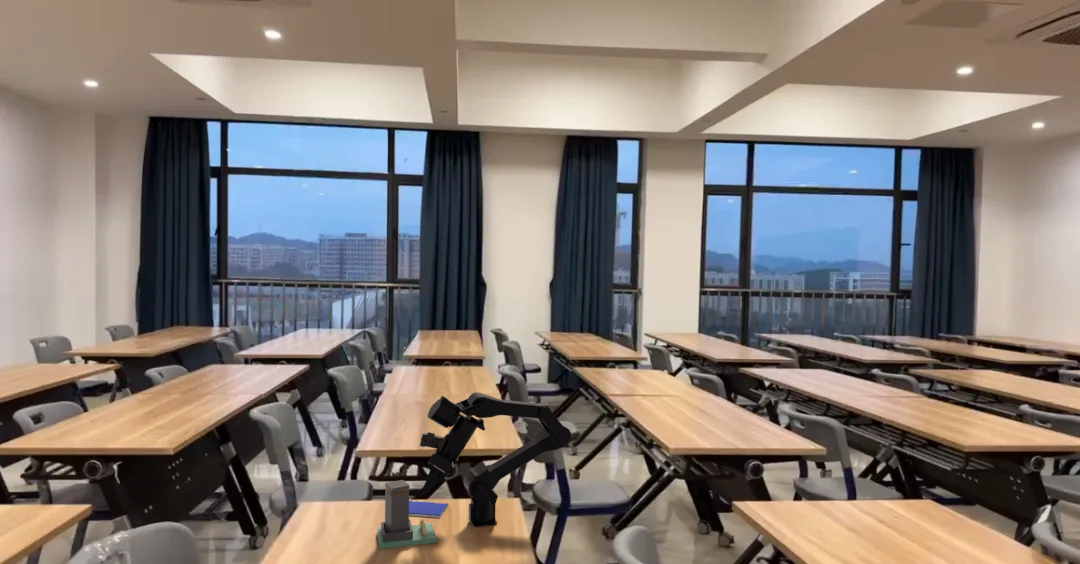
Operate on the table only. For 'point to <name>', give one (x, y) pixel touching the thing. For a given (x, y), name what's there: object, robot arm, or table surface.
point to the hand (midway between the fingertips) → (426, 487)
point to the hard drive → (427, 509)
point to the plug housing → (396, 506)
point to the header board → (407, 536)
